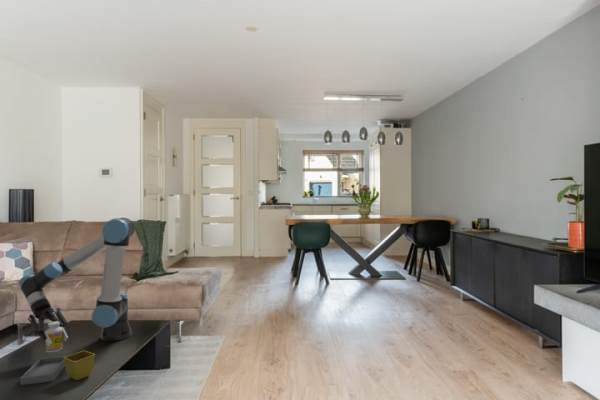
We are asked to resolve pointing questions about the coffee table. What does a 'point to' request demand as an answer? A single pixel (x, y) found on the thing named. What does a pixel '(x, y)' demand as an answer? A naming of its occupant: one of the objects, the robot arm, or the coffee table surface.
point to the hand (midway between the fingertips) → (58, 341)
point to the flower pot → (79, 364)
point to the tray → (43, 370)
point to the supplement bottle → (54, 337)
